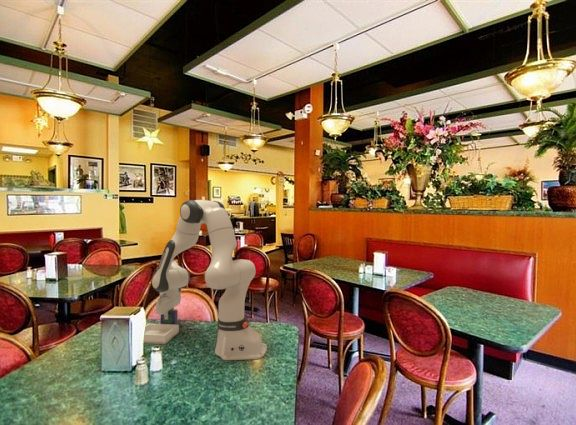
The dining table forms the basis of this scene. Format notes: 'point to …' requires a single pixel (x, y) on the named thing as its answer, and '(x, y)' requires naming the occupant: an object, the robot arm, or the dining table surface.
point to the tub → (160, 333)
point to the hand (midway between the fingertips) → (168, 317)
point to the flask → (170, 318)
